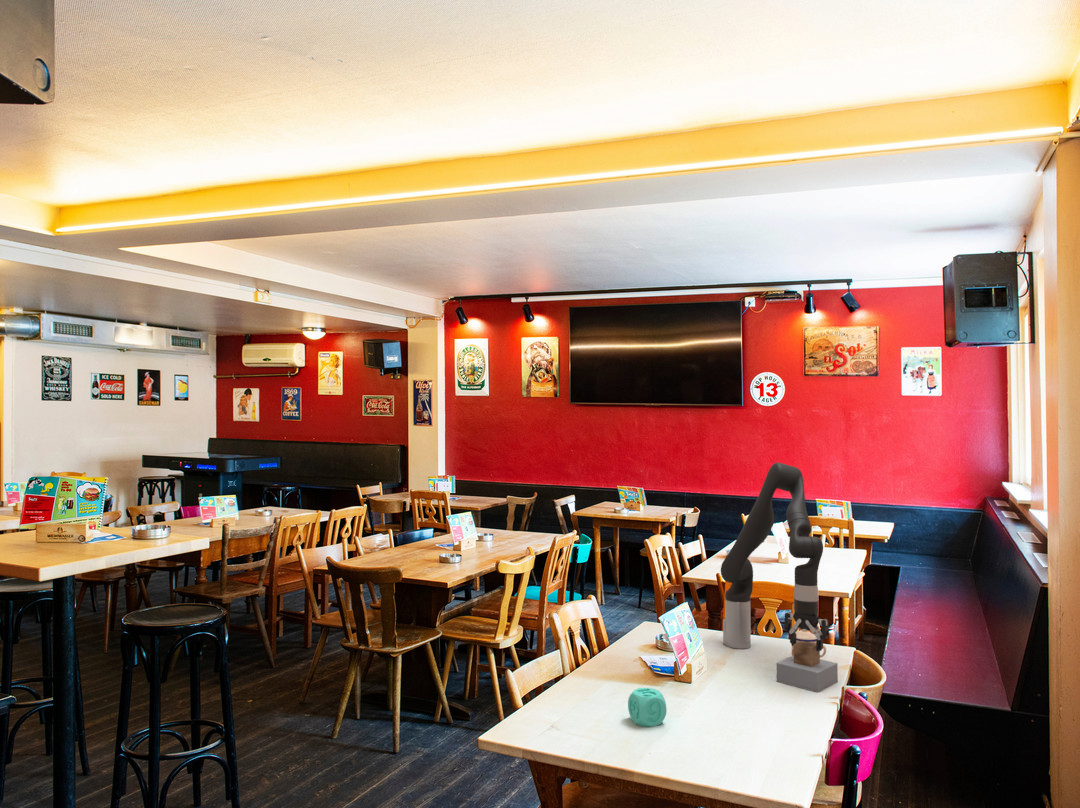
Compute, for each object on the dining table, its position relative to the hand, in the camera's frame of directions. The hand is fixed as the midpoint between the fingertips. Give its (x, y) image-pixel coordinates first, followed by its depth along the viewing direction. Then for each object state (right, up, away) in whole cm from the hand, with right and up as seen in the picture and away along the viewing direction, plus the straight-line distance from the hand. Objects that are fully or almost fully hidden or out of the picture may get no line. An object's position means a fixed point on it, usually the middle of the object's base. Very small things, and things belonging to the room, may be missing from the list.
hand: (806, 648), depth 240 cm
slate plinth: (0, -11, 0) cm, 11 cm away
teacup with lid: (+8, -12, +20) cm, 25 cm away
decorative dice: (-57, -10, -34) cm, 67 cm away
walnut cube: (0, -5, 0) cm, 5 cm away
